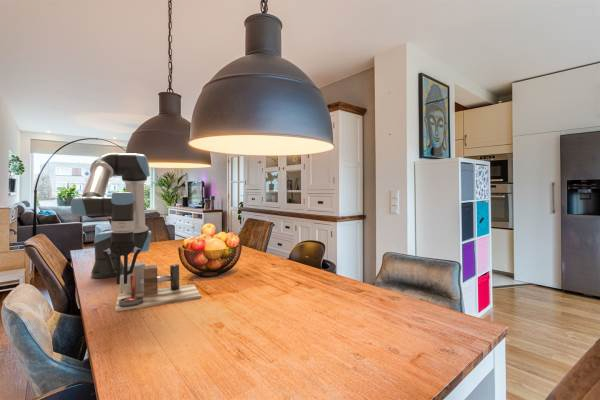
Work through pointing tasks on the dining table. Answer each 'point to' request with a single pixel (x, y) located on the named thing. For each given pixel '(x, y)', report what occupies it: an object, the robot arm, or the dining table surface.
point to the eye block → (158, 292)
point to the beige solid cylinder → (138, 273)
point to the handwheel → (134, 299)
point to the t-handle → (169, 277)
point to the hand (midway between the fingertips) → (121, 292)
